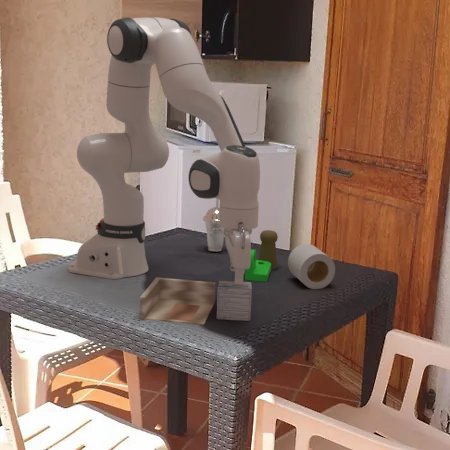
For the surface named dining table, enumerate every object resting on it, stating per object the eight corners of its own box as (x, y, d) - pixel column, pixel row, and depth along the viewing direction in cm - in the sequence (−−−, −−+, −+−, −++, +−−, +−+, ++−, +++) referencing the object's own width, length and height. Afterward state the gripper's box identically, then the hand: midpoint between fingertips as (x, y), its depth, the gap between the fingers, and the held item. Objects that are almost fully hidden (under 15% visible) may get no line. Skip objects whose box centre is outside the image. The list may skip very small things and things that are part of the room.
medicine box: (250, 316, 159) (251, 281, 157) (250, 323, 155) (251, 288, 153) (217, 314, 160) (218, 280, 158) (216, 321, 155) (217, 286, 153)
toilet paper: (286, 278, 189) (289, 244, 187) (319, 276, 191) (322, 243, 189) (299, 290, 180) (301, 254, 177) (333, 288, 182) (336, 253, 180)
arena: (139, 321, 154) (140, 297, 152) (155, 299, 168) (156, 277, 167) (203, 327, 152) (204, 303, 150) (214, 304, 166) (215, 282, 165)
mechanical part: (266, 281, 185) (267, 254, 183) (245, 279, 186) (246, 252, 184) (272, 267, 196) (273, 241, 194) (251, 265, 197) (253, 240, 195)
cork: (255, 268, 196) (257, 232, 194) (258, 263, 202) (260, 227, 200) (276, 270, 195) (278, 234, 193) (278, 264, 201) (280, 229, 199)
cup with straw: (200, 252, 211) (203, 190, 206) (202, 244, 219) (205, 185, 215) (227, 253, 210) (230, 191, 206) (228, 246, 219) (231, 186, 214)
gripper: (258, 229, 141) (256, 291, 144) (246, 209, 161) (244, 264, 164) (229, 228, 141) (227, 291, 144) (220, 209, 160) (219, 264, 164)
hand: (236, 276), depth 154 cm, fingers open, 8 cm apart
